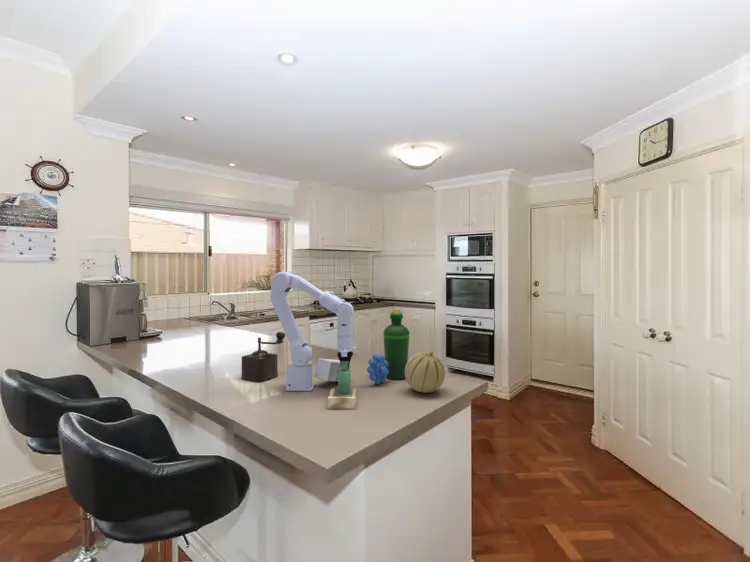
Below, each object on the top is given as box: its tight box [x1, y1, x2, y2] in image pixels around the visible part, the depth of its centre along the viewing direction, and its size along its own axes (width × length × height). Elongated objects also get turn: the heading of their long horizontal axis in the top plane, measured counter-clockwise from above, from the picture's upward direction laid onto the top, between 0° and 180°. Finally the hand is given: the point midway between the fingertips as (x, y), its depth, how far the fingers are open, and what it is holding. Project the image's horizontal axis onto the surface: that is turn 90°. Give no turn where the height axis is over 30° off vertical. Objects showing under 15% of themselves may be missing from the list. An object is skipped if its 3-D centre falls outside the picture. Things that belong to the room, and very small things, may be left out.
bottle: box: [383, 308, 410, 381], centre depth 166 cm, size 11×11×28 cm
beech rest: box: [327, 388, 358, 410], centre depth 136 cm, size 9×13×4 cm
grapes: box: [366, 353, 389, 385], centre depth 156 cm, size 12×7×12 cm, turn 138°
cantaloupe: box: [404, 350, 446, 394], centre depth 147 cm, size 15×15×15 cm
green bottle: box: [337, 361, 352, 396], centre depth 146 cm, size 4×4×11 cm
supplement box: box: [313, 357, 352, 382], centre depth 157 cm, size 7×7×13 cm
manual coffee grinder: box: [241, 331, 287, 384], centre depth 167 cm, size 16×11×18 cm
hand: (345, 372), depth 150 cm, fingers closed
